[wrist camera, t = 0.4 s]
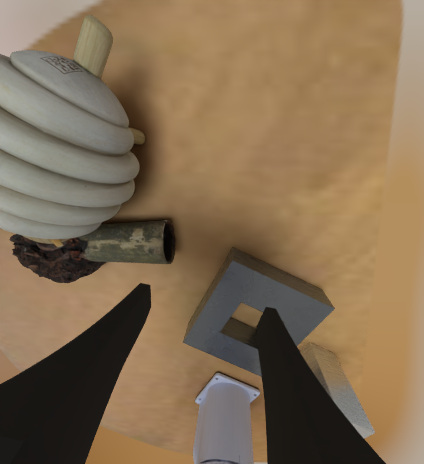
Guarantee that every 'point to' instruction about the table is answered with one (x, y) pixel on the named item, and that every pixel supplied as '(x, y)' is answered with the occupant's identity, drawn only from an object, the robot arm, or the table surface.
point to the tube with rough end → (98, 249)
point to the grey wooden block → (337, 386)
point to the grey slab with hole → (257, 296)
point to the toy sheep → (63, 141)
